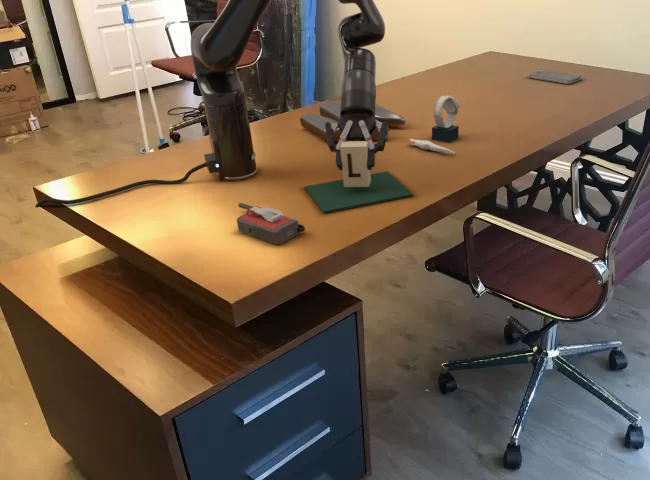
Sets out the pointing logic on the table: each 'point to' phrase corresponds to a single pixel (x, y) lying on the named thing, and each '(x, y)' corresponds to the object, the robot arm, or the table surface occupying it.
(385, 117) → the emblem
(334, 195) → the desk pad
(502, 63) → the table surface
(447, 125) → the watch
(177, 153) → the table surface
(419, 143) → the white pointed spike
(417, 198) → the table surface
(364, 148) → the cream letter block
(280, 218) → the walkie-talkie
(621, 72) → the table surface
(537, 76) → the phone case
